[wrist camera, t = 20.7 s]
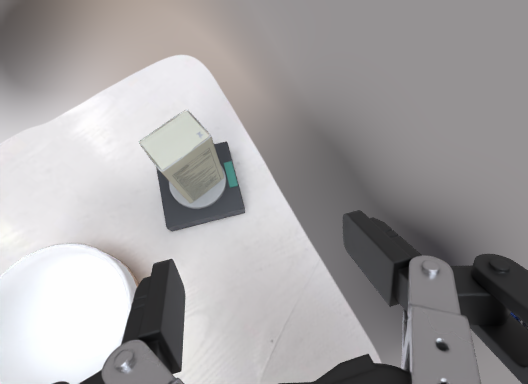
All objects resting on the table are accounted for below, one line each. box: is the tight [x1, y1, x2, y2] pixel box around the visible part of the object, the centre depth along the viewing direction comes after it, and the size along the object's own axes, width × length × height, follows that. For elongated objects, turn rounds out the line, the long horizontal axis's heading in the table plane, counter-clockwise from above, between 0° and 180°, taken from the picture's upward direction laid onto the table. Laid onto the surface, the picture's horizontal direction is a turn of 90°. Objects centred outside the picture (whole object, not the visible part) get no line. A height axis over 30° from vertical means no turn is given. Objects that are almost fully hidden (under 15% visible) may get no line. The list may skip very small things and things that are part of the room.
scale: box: [156, 142, 245, 231], centre depth 40 cm, size 11×11×3 cm
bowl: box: [0, 243, 138, 384], centre depth 32 cm, size 16×16×8 cm
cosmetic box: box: [139, 110, 224, 203], centre depth 33 cm, size 6×4×12 cm
